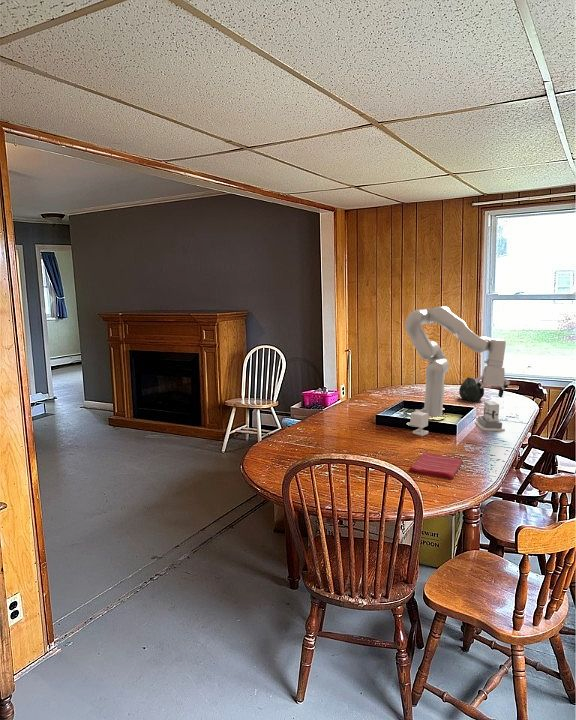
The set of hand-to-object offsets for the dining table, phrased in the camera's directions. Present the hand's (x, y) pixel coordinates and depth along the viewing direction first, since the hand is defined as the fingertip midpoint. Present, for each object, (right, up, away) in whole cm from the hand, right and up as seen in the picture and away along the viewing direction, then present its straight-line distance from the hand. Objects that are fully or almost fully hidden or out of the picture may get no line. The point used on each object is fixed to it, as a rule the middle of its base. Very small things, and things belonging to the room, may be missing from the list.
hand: (490, 396), depth 273 cm
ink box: (+1, -15, +2) cm, 15 cm away
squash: (+11, -7, +61) cm, 63 cm away
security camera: (-39, -17, -12) cm, 45 cm away
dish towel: (-44, -25, -58) cm, 77 cm away
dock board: (0, -16, +2) cm, 16 cm away
